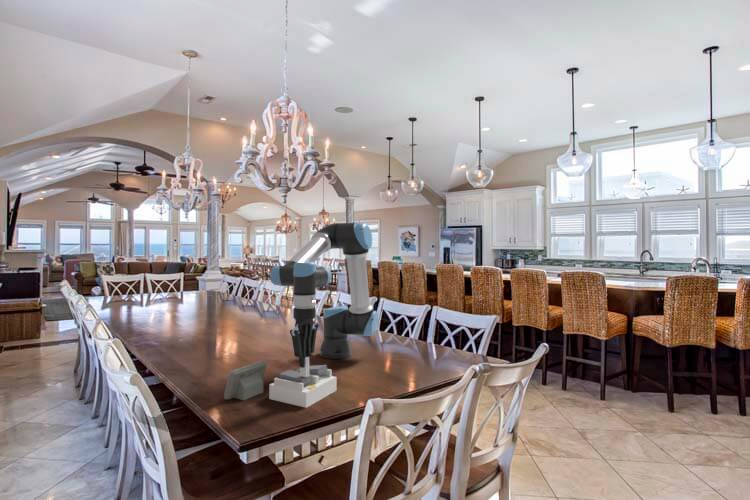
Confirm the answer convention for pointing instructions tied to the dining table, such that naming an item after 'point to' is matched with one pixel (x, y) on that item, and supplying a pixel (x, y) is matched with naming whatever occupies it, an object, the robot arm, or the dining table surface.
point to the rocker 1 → (295, 377)
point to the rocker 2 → (316, 369)
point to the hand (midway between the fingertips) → (304, 375)
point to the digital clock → (245, 381)
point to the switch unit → (303, 389)
